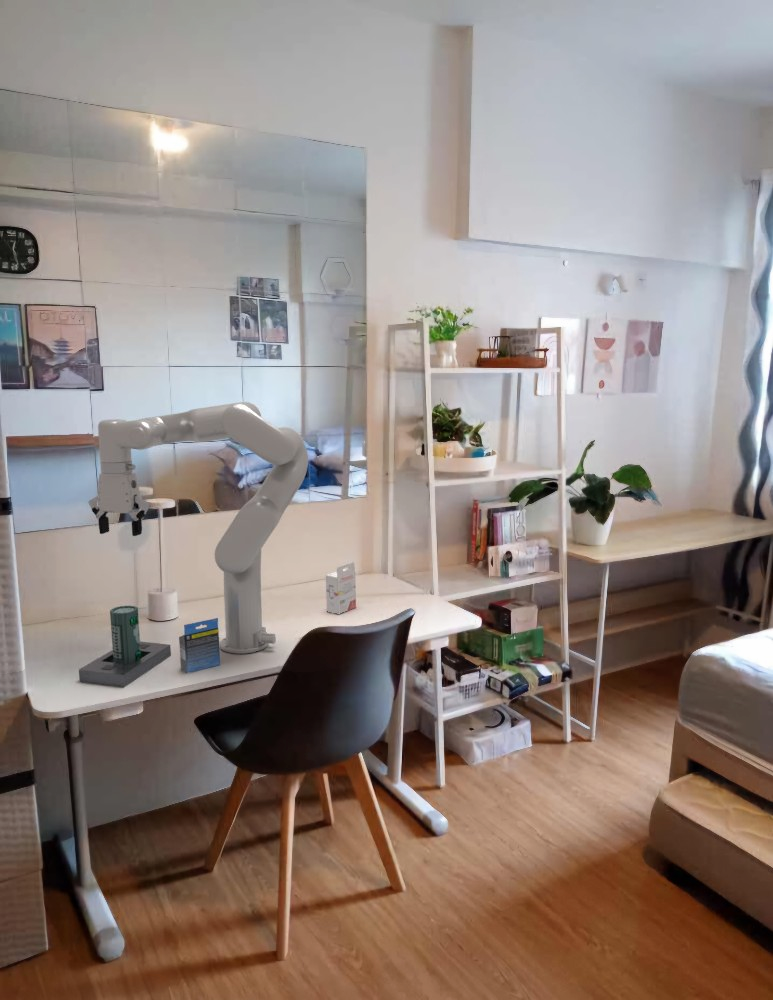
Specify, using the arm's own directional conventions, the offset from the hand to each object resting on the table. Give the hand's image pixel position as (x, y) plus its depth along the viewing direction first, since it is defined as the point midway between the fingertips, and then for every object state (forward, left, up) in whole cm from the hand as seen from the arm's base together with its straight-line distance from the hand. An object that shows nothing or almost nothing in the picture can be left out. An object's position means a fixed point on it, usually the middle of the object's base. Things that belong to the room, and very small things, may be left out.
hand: (120, 533), depth 195 cm
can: (-9, +13, -31) cm, 35 cm away
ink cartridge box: (-45, -43, -31) cm, 69 cm away
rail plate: (-9, +13, -30) cm, 34 cm away
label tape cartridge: (-26, +8, -31) cm, 41 cm away
